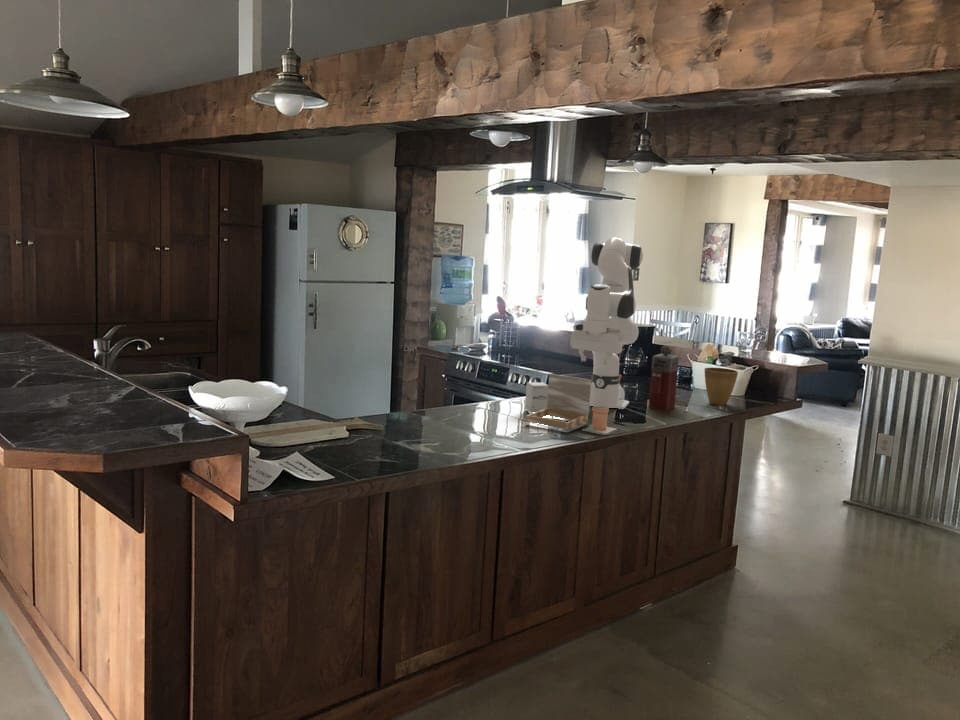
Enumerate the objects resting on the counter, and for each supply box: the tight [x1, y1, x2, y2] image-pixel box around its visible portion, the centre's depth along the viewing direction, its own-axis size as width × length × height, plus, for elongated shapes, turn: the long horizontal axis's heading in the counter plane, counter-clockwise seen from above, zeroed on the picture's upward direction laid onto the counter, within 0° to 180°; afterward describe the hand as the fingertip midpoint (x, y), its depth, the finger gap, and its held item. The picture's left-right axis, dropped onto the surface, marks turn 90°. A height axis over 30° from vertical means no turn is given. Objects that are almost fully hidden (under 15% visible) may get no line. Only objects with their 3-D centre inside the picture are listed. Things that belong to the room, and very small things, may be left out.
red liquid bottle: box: [648, 344, 679, 411], centre depth 344 cm, size 9×11×28 cm
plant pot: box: [704, 367, 739, 406], centre depth 359 cm, size 15×15×16 cm
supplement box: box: [524, 381, 549, 412], centre depth 322 cm, size 7×7×13 cm
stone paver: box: [590, 424, 617, 433], centre depth 297 cm, size 10×10×1 cm
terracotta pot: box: [591, 407, 610, 431], centre depth 296 cm, size 6×6×8 cm
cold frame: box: [525, 373, 592, 429], centre depth 303 cm, size 19×18×18 cm
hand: (594, 362), depth 298 cm, fingers open, 8 cm apart
